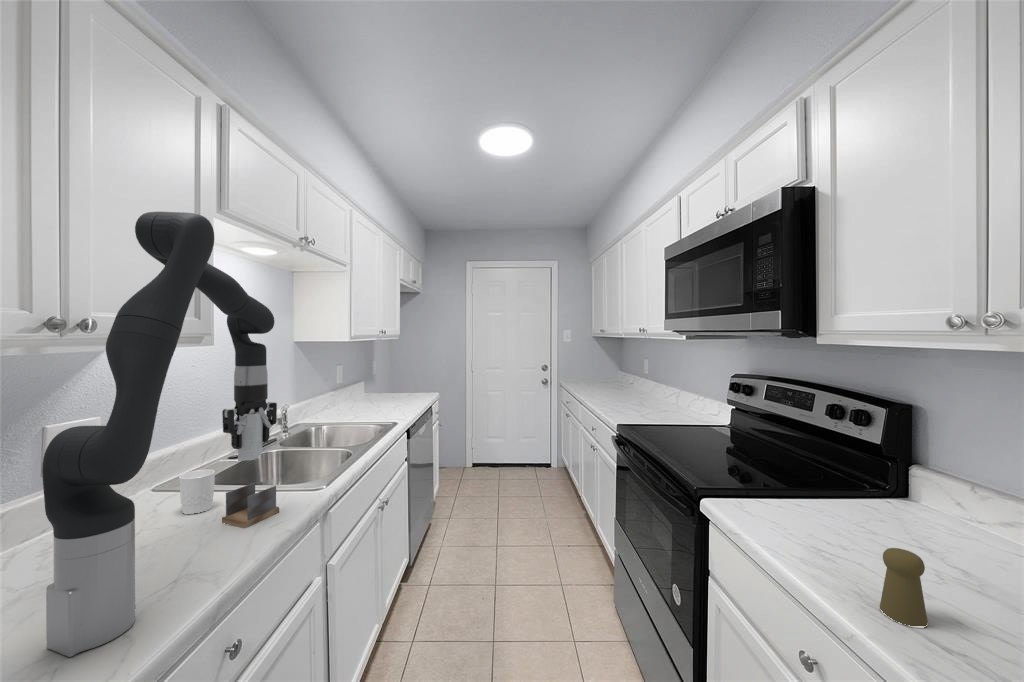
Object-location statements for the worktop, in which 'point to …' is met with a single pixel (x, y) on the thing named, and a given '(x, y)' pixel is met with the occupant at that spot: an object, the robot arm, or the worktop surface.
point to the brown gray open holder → (249, 506)
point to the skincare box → (251, 437)
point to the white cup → (197, 491)
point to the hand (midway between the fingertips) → (251, 444)
